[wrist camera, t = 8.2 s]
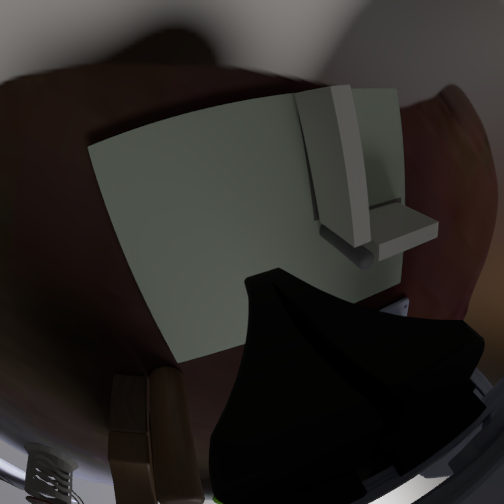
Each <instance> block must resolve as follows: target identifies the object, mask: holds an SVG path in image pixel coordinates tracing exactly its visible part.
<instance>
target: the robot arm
mask: <svg viewBox="0 0 504 504" xmlns="http://www.w3.org/2000/svg"><path fill="white" fill-rule="evenodd" d="M244 283H245V287H246V291H247V295H248V326H247V335H246V342H245V347H244V352H243V356H242V360H241V364H240V368H239V371H238V375H237V378H236V381H235V384H234V386H233V389H232V391H231V394H230V397H229V399H228V402H227V404H226V407H225V409H224V411H223V413H222V415H221V417H220V419H219V421H218V423H217V425H216V427H215V429H214V431H213V433H212V435H211V439H210V449H209V474H210V480H211V485H212V489H213V493H214V497H215V498H216V499H217V500H218V501H219V502H221V503H223V504H368V503H370V502H372V501H374V500H376V499H378V498H380V497H382V496H383V495H385V494H387V493H389V492H390V491H392V490H394V489H396V488H397V487H399V486H401V485H402V484H404V483H406V482H407V481H409V480H410V479H412V478H414V477H415V476H416V475H418V474H420V475H421V476H424V477H425V478H437V477H446V476H450V477H449V478H447V479H446V480H445V481H443V482H442V483H441V484H439V485H438V486H437V487H435V488H434V489H432V490H431V491H429V492H428V493H427V494H425V495H424V496H422V497H421V498H419V499H418V500H416V501H415V502H413V503H411V504H504V377H503V378H502V379H501V380H500V381H499V382H498V383H497V384H496V385H495V386H494V387H493V386H492V385H491V384H490V382H489V381H488V380H487V379H486V378H485V376H484V375H483V374H482V373H481V372H480V371H479V370H478V369H477V368H476V366H477V364H478V362H479V360H480V358H481V356H482V354H483V350H484V346H485V342H484V339H483V338H482V337H481V336H480V335H479V334H478V333H477V332H476V331H475V330H473V329H472V328H471V327H470V326H469V325H468V324H467V323H465V322H464V321H463V320H432V319H422V318H414V317H407V310H408V305H409V299H408V298H403V299H401V300H399V301H397V302H395V303H393V304H391V305H389V306H387V307H385V308H383V309H381V310H379V311H377V310H374V309H370V308H367V307H363V306H360V305H357V304H354V303H351V302H348V301H346V300H343V299H341V298H338V297H336V296H333V295H331V294H329V293H327V292H324V291H322V290H320V289H318V288H316V287H314V286H312V285H310V284H308V283H306V282H304V281H303V280H301V279H299V278H297V277H295V276H294V275H292V274H290V273H288V272H287V271H285V270H283V269H281V268H279V267H278V268H275V269H272V270H269V271H266V272H262V273H259V274H256V275H253V276H250V277H247V278H246V279H245V280H244Z"/></svg>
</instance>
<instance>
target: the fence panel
mask: <svg viewBox="0 0 504 504" xmlns="http://www.w3.org/2000/svg"><path fill="white" fill-rule="evenodd" d="M294 96H295V100H296V104H297V108H298V112H299V116H300V121H301V125H302V130H303V134H304V139H305V144H306V148H307V153H308V158H309V163H310V168H311V174H312V179H313V184H314V190H315V196H316V201H317V207H318V213H319V220H320V223H322V224H323V225H325V226H326V227H327V228H329V229H330V230H331V231H333V232H334V233H336V234H337V235H338V236H340V237H341V238H342V239H344V240H345V241H346V242H348V243H349V244H350V245H352V246H353V247H354V248H355V247H358V246H360V245H363V244H365V243H368V242H370V241H371V232H370V217H369V204H368V193H367V184H366V175H365V167H364V159H363V152H362V145H361V139H360V133H359V127H358V121H357V116H356V110H355V105H354V100H353V95H352V91H351V86H350V84H348V85H338V86H329V87H324V88H318V89H313V90H308V91H303V92H298V93H294Z"/></svg>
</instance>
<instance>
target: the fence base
mask: <svg viewBox="0 0 504 504" xmlns="http://www.w3.org/2000/svg"><path fill="white" fill-rule="evenodd" d="M369 217H370V232H371V241H370V242H368V243H365V244H363V245H360V246H358V247H355V248H354V247H353V246H352V245H350V244H349V243H348V242H346V241H345V240H344V239H342V238H341V237H340V236H338V235H337V234H336V233H334V232H333V231H331V230H330V229H329V228H327V227H326V226H325V225H322V226H321V227H320V229H319V233H320V236H321V237H323V238H324V239H325V240H326V241H328V242H329V243H330V244H331V245H332V246H334V247H335V248H336V249H337V250H339V251H340V252H341V253H342V254H343V255H345V256H346V257H347V258H348V259H349V260H350V261H352V262H353V263H354V264H355V265H356V266H358V267H359V268H360V269H361V270H366V269H368V268H370V267H371V265H372V264H373V262H374V258H375V259H377V260H378V261H381V260H383V259H386V258H388V257H391V256H393V255H396V254H398V253H401V252H403V251H405V250H408V249H410V248H413V247H415V246H417V245H420V244H422V243H425V242H427V241H429V240H431V239H434V238H436V237H437V234H438V223H439V222H438V221H436V220H434V219H432V218H430V217H428V216H426V215H424V214H421V213H419V212H417V211H415V210H413V209H411V208H409V207H407V206H404V205H402V204H400V203H398V202H396V203H392V204H389V205H385V206H382V207H378V208H375V209H372V210H369Z"/></svg>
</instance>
